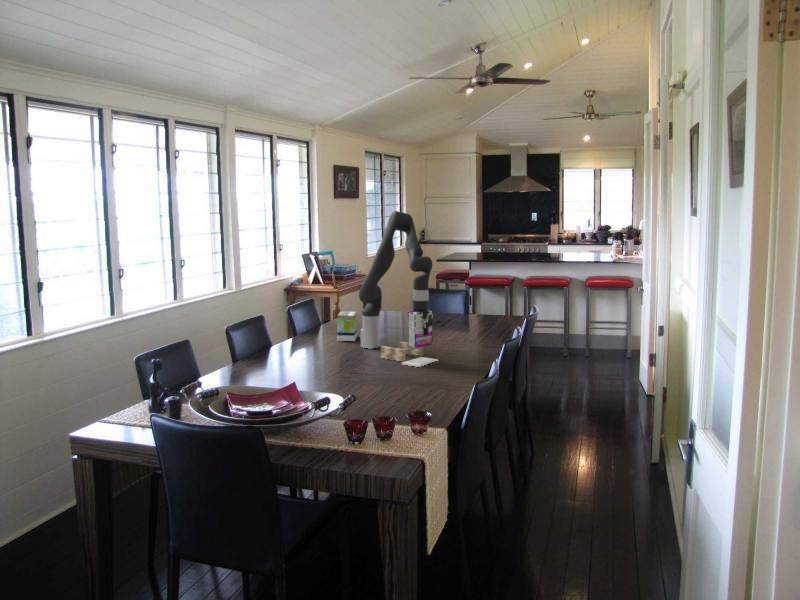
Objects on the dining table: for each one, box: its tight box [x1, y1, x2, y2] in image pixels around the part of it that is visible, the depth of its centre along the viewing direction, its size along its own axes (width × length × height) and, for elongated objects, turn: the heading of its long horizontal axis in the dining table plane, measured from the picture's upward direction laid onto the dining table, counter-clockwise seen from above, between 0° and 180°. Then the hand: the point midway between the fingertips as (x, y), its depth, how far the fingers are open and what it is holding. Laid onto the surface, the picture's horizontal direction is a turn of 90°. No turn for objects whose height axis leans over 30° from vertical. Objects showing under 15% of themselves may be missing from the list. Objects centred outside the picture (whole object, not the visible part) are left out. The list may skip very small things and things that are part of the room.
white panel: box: [400, 356, 439, 368], centre depth 323 cm, size 10×16×1 cm, turn 142°
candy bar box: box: [408, 310, 433, 348], centre depth 321 cm, size 11×5×16 cm, turn 130°
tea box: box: [336, 311, 358, 342], centre depth 379 cm, size 15×10×15 cm
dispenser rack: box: [380, 341, 424, 363], centre depth 335 cm, size 14×15×6 cm
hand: (420, 334), depth 322 cm, fingers closed on candy bar box, 5 cm apart
